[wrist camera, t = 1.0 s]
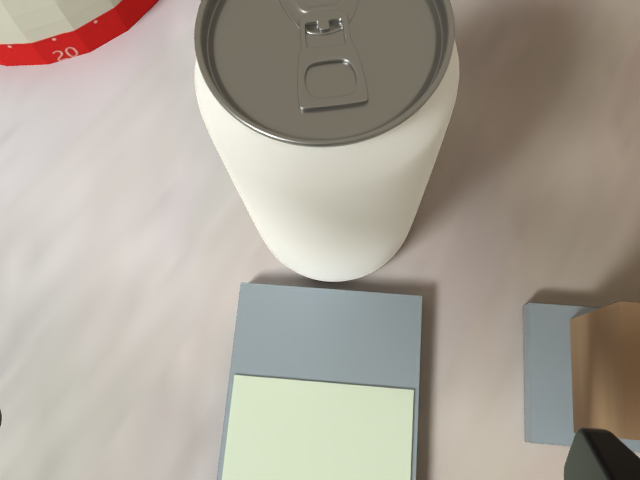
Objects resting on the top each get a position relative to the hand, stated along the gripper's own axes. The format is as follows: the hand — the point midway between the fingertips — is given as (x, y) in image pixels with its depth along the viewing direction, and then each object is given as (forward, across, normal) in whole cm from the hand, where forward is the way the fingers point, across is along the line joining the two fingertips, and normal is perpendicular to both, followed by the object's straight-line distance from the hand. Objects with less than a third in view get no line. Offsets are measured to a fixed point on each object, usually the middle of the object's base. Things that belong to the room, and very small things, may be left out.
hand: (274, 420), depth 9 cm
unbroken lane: (+8, 0, +11) cm, 14 cm away
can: (+15, 0, +4) cm, 16 cm away
